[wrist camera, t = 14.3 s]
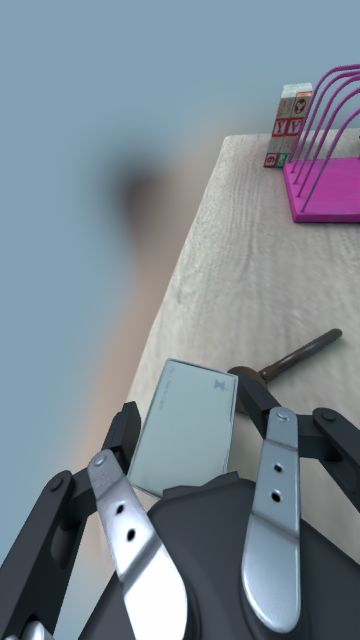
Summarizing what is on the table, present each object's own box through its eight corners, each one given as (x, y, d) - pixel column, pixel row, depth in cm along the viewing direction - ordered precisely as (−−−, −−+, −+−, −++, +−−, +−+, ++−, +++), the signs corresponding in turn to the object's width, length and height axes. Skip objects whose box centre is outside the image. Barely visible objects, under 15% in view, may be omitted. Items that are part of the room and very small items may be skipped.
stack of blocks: (270, 140, 58) (285, 77, 47) (290, 139, 56) (311, 74, 46) (263, 167, 48) (281, 96, 37) (287, 167, 47) (313, 93, 36)
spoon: (319, 318, 23) (325, 314, 22) (354, 349, 21) (362, 345, 20) (212, 380, 21) (213, 378, 20) (238, 422, 18) (240, 422, 17)
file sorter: (356, 166, 43) (428, 51, 30) (397, 224, 31) (547, 75, 18) (282, 169, 46) (315, 67, 33) (292, 222, 34) (352, 96, 21)
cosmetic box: (182, 385, 21) (165, 351, 10) (219, 396, 20) (240, 372, 9) (165, 445, 18) (118, 483, 8) (207, 462, 17) (219, 533, 6)
